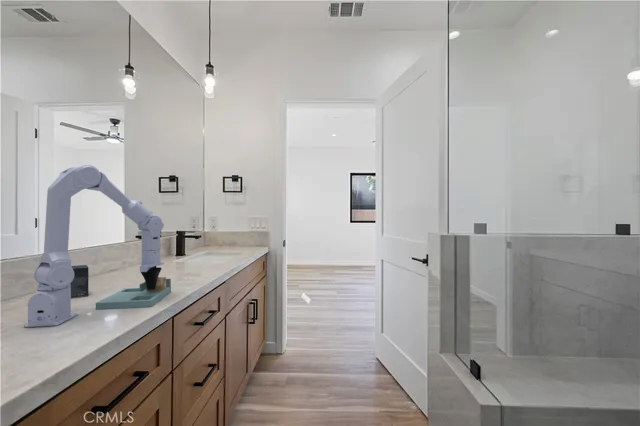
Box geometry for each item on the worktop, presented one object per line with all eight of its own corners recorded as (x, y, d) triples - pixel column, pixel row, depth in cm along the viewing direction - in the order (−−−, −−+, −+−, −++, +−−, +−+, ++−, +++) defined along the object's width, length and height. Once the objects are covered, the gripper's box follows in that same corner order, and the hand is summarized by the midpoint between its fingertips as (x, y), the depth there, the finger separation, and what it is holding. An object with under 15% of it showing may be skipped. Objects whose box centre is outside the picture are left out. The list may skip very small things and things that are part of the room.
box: (88, 296, 116) (88, 266, 116) (68, 298, 113) (68, 268, 113) (87, 292, 122) (86, 264, 122) (68, 294, 119) (67, 265, 119)
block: (161, 290, 114) (161, 279, 114) (146, 291, 114) (146, 280, 114) (166, 287, 119) (166, 276, 119) (151, 288, 119) (151, 277, 119)
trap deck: (151, 306, 102) (151, 290, 102) (95, 309, 99) (95, 293, 99) (170, 291, 121) (170, 278, 121) (124, 293, 119) (124, 280, 119)
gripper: (155, 252, 106) (156, 293, 106) (169, 247, 120) (170, 284, 120) (132, 252, 105) (133, 294, 105) (149, 248, 119) (149, 285, 119)
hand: (151, 289), depth 113 cm, fingers closed
